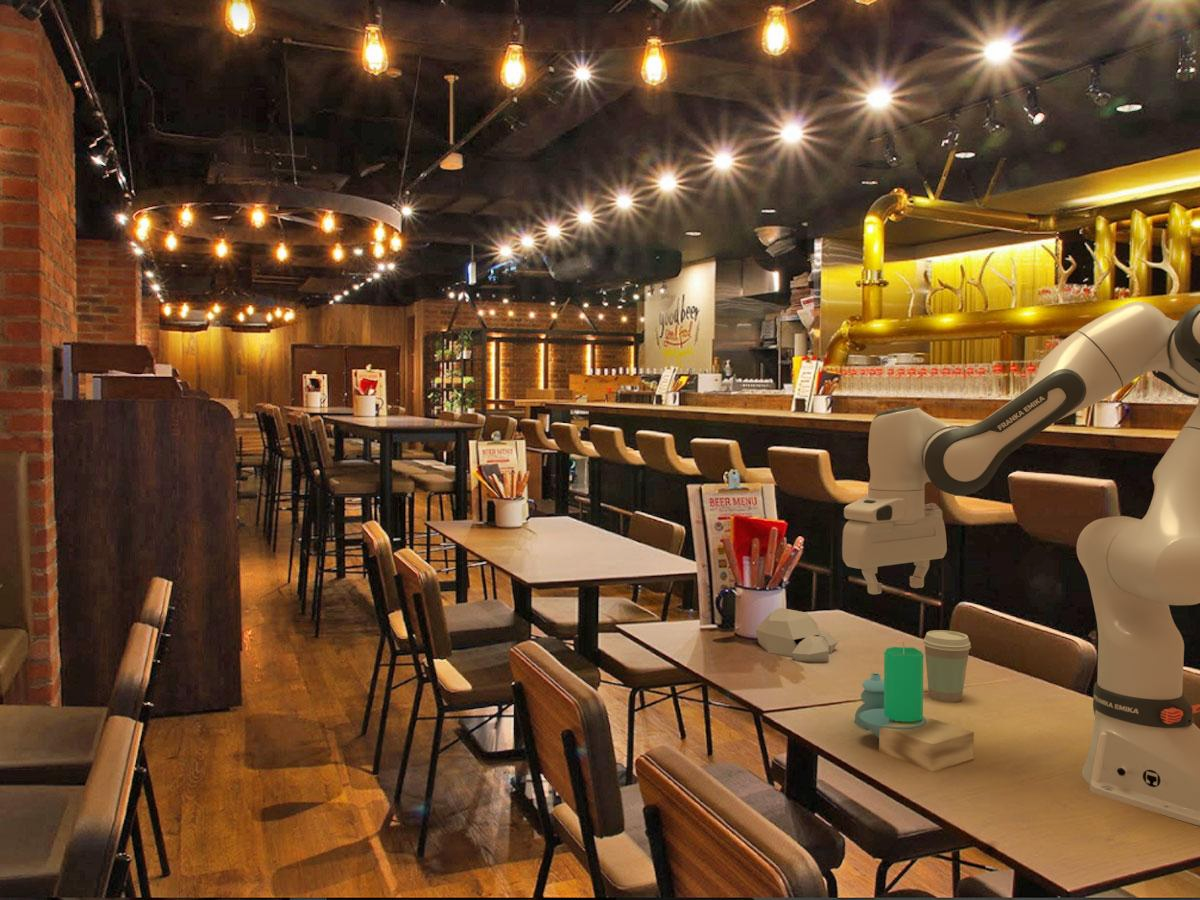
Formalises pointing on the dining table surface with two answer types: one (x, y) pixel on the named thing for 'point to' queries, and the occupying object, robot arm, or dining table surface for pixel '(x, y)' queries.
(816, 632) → the rock
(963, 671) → the coffee cup
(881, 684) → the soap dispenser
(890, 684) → the candle
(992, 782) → the dining table surface
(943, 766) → the beech box
